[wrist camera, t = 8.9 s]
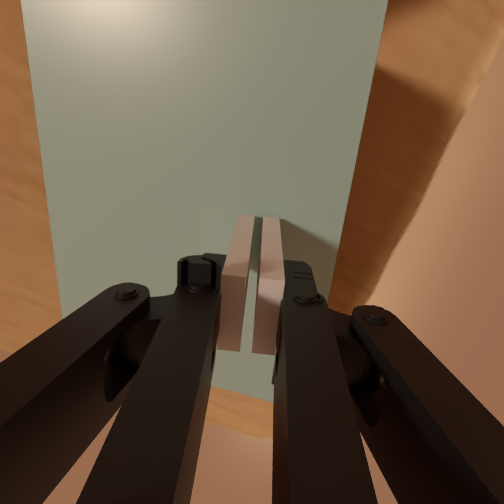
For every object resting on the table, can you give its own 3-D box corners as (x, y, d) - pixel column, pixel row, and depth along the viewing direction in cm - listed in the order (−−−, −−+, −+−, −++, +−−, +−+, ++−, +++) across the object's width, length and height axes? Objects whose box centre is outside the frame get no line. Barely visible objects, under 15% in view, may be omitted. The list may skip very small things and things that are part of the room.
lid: (36, -12, 17) (18, -19, 16) (386, 2, 14) (389, -6, 13) (76, 337, 25) (66, 346, 24) (307, 398, 21) (305, 411, 21)
